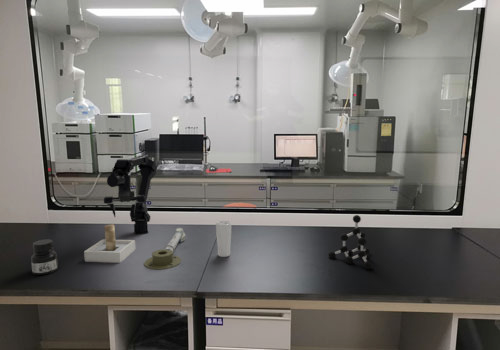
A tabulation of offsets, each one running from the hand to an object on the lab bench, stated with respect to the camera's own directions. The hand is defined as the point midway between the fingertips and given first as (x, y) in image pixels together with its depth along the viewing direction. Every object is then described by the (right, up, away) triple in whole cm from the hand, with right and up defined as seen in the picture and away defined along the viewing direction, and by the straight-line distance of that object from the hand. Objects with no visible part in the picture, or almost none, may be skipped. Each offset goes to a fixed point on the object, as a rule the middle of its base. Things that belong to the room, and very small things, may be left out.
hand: (124, 216), depth 172 cm
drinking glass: (+50, -16, -17) cm, 55 cm away
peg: (0, -15, -17) cm, 22 cm away
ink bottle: (-20, -18, -33) cm, 42 cm away
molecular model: (+108, -16, -20) cm, 112 cm away
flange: (+25, -17, -24) cm, 39 cm away
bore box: (0, -15, -17) cm, 23 cm away
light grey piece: (+26, -14, -6) cm, 30 cm away
